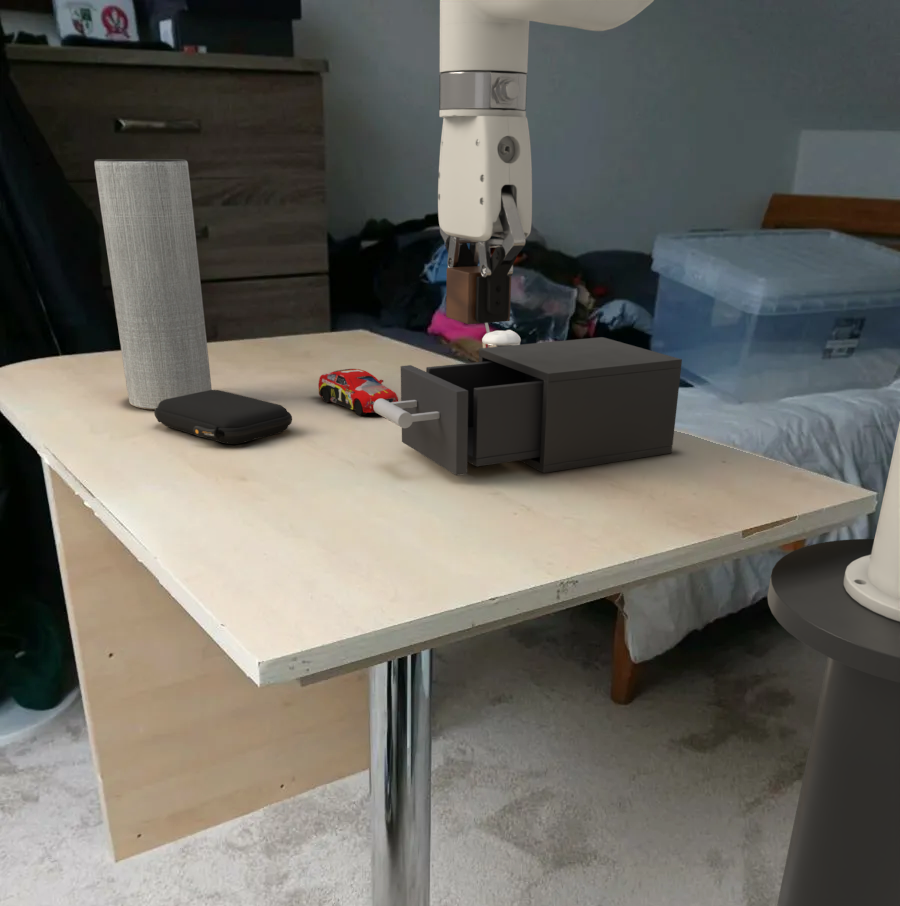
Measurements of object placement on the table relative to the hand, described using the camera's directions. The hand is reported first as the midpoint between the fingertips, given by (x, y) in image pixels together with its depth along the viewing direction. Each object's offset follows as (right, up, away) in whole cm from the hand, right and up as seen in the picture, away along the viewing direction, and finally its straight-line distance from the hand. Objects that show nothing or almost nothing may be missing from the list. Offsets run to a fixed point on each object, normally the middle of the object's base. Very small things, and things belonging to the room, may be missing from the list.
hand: (478, 315), depth 89 cm
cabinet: (+10, -11, +11) cm, 18 cm away
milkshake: (+3, -4, +26) cm, 26 cm away
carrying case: (-28, -8, +15) cm, 33 cm away
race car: (-14, -3, +26) cm, 30 cm away
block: (0, 0, 0) cm, 0 cm away
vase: (-37, -3, +28) cm, 46 cm away
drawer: (0, -12, +5) cm, 13 cm away
